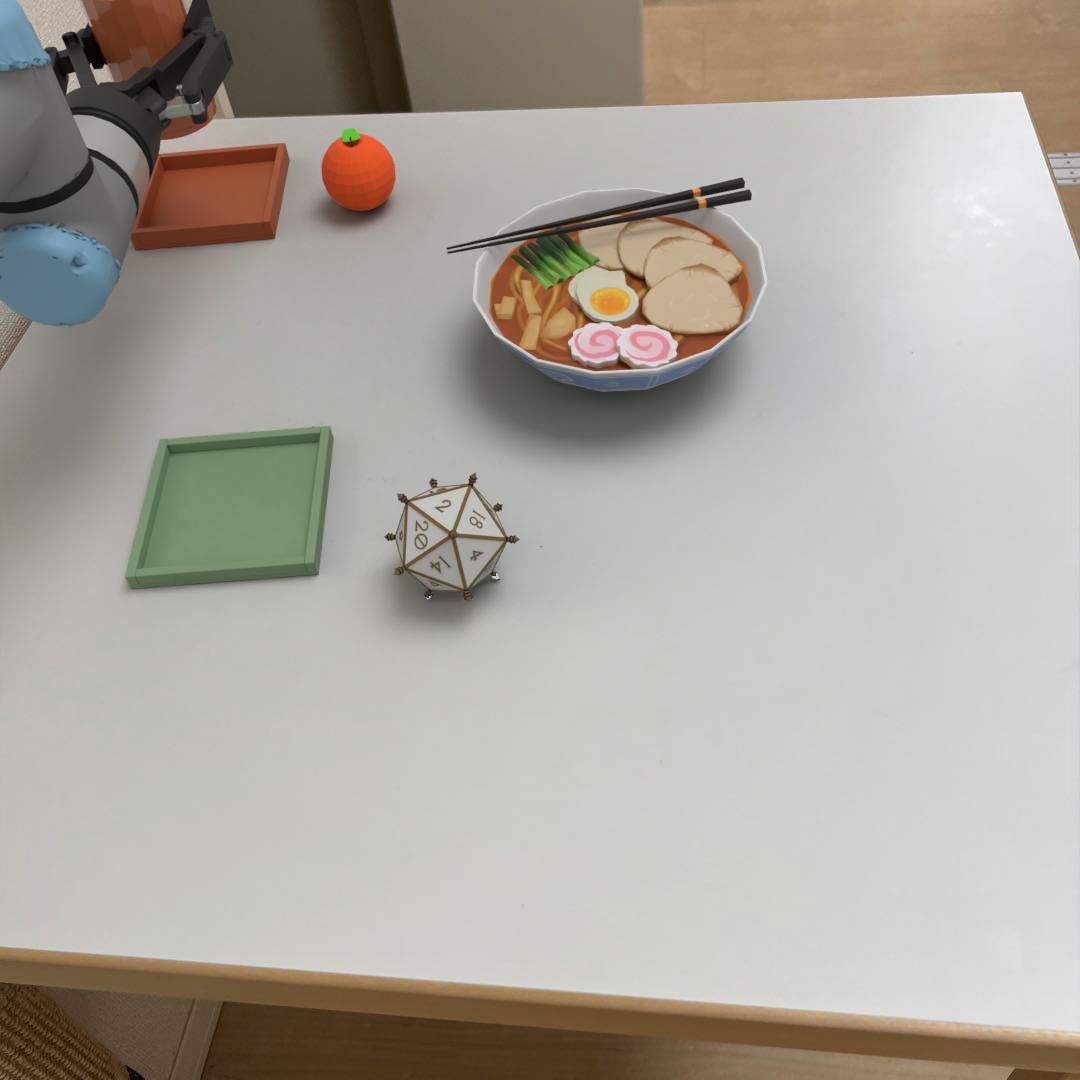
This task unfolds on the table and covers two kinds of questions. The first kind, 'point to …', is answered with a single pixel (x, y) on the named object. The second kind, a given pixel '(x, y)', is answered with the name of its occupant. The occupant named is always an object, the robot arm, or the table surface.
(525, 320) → the ramen bowl
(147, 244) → the terracotta tray
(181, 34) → the terracotta cup
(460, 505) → the game die
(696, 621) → the table surface
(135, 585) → the sage tray
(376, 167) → the clementine
